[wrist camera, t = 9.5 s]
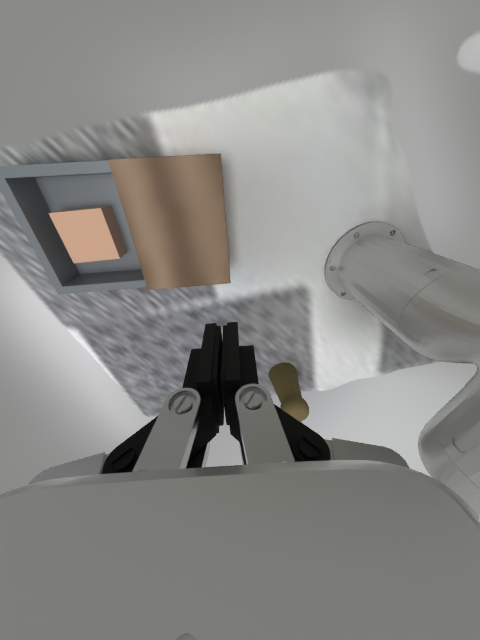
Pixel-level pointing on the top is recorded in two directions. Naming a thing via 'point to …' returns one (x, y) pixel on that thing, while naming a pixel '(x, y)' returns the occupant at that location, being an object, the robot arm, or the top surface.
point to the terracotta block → (90, 233)
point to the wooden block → (175, 218)
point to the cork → (289, 390)
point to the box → (61, 194)
